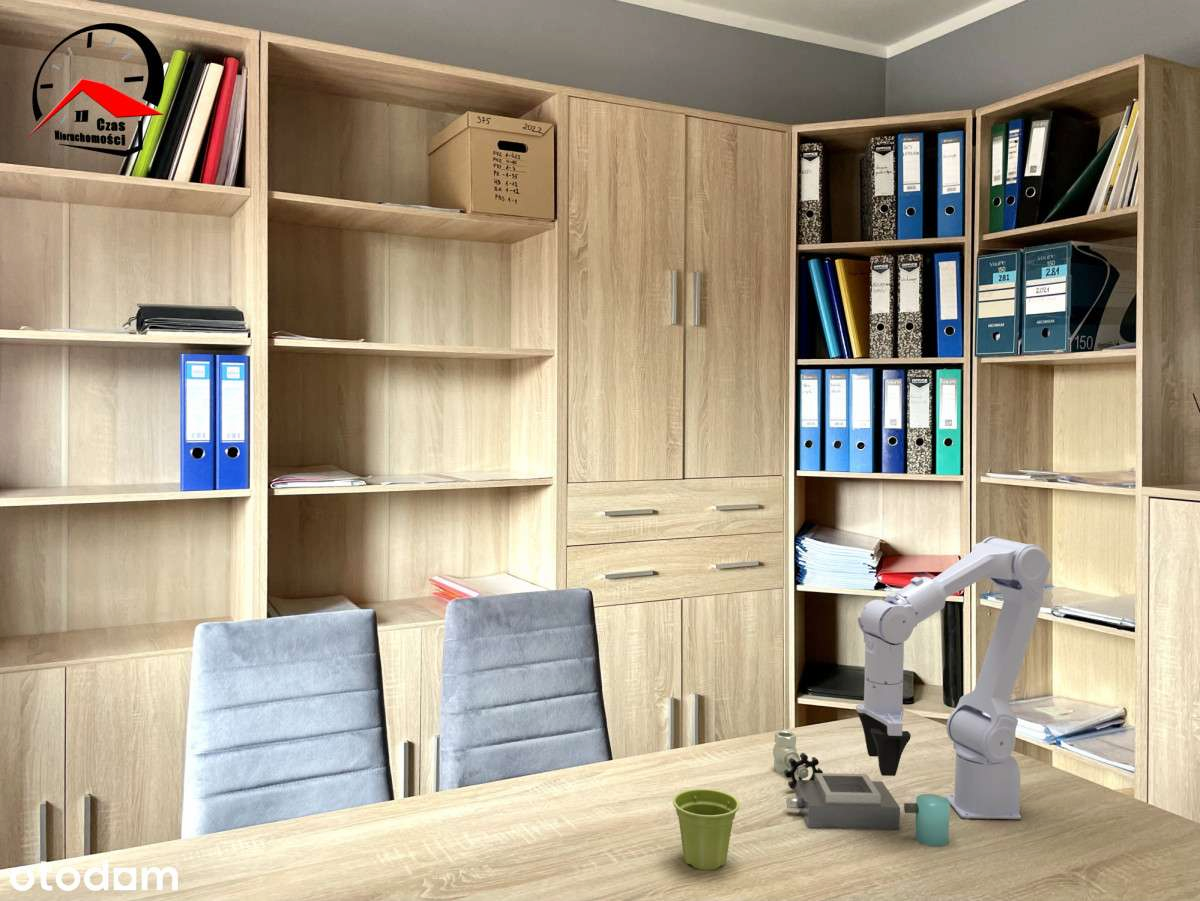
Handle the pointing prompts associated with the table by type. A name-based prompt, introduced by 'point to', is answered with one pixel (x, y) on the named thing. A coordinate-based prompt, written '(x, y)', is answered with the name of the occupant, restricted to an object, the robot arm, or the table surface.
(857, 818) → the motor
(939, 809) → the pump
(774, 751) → the valve
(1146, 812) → the table surface
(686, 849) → the plant pot
